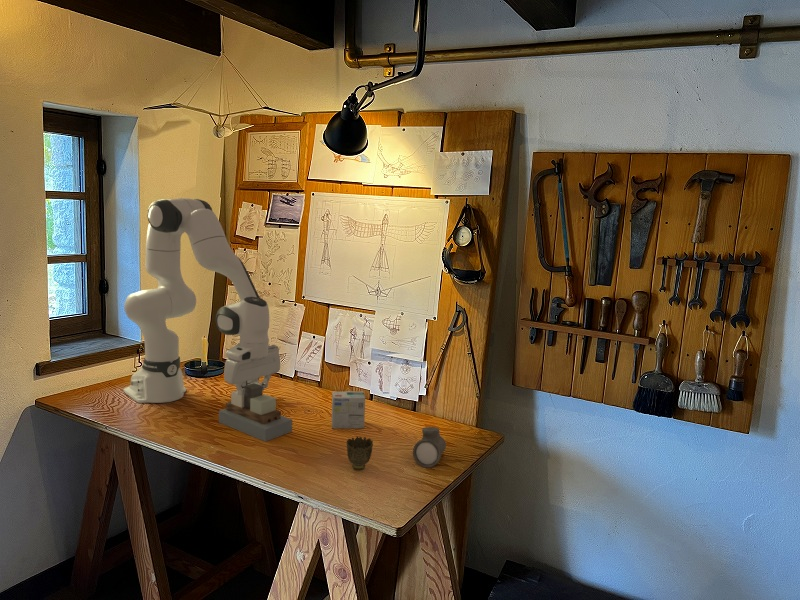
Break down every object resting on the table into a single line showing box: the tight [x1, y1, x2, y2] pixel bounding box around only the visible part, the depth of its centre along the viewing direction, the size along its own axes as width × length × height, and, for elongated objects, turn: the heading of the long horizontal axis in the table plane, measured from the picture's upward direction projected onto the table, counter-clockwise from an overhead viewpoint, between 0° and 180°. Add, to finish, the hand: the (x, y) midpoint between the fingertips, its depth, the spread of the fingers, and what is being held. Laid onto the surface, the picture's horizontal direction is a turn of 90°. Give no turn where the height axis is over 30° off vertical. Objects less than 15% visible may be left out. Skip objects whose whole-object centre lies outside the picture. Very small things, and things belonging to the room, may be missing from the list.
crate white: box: [230, 388, 244, 408], centre depth 201 cm, size 5×6×4 cm
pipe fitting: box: [412, 426, 447, 469], centre depth 183 cm, size 12×8×10 cm
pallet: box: [225, 383, 282, 424], centre depth 198 cm, size 18×7×9 cm, turn 55°
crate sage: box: [250, 393, 277, 415], centre depth 196 cm, size 5×6×4 cm
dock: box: [218, 408, 293, 442], centre depth 199 cm, size 22×11×4 cm, turn 55°
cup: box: [346, 436, 374, 471], centre depth 174 cm, size 8×7×8 cm
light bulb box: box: [331, 390, 366, 430], centre depth 205 cm, size 11×7×11 cm, turn 100°
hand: (252, 391), depth 198 cm, fingers open, 8 cm apart
